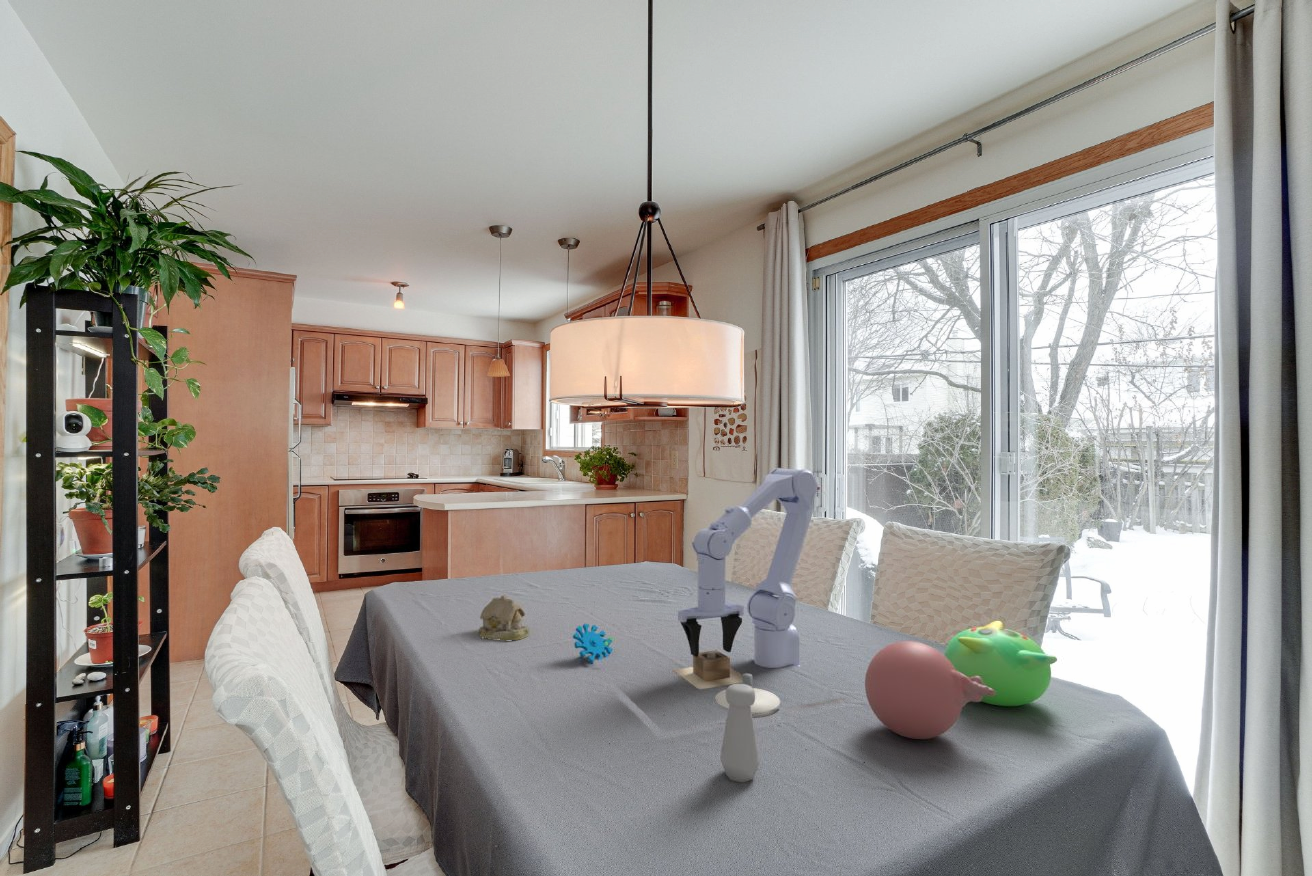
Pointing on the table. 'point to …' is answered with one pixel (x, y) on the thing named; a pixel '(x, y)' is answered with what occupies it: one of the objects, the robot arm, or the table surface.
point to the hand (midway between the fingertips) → (711, 653)
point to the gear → (592, 642)
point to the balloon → (918, 690)
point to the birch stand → (701, 684)
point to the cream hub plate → (762, 700)
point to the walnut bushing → (711, 666)
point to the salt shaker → (740, 735)
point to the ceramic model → (503, 620)
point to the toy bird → (1002, 663)
